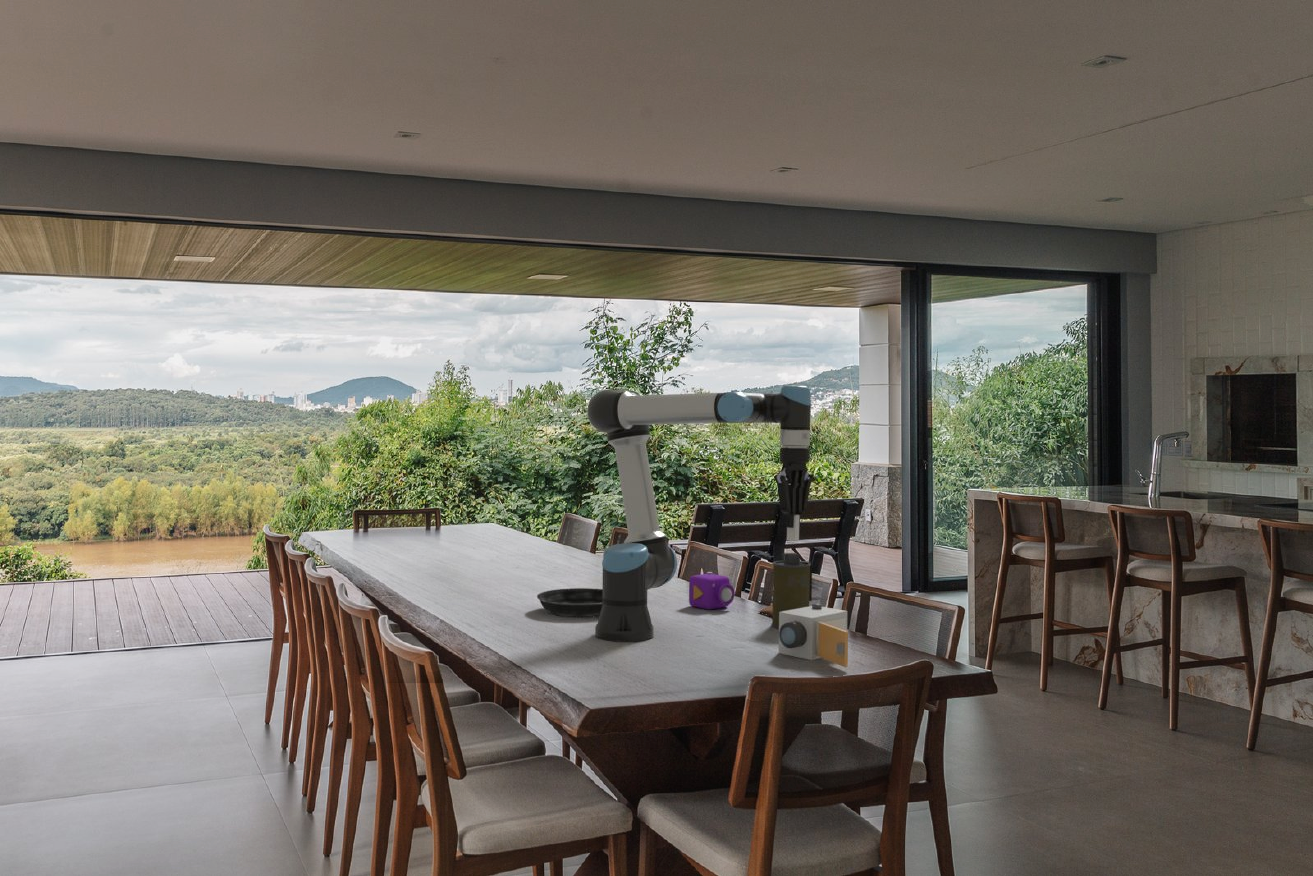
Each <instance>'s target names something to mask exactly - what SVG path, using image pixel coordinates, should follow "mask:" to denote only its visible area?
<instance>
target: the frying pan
mask: <svg viewBox="0 0 1313 876" xmlns="http://www.w3.org/2000/svg"><path fill="white" fill-rule="evenodd" d="M602 592H603V588H602V589H601V588H589V587H587V588H586V587H585V588H582V587H581V588H579V587H577V588H573V587H570V588H560V589H558V588H557V589H553V590H546V591H542V592H540V593H538V594H537V596H536V597H537V600H539V602H540V604H541V606H542V607H543V608H544V609H545V611H547V612H548V613H550V614H552V615H555V616H558V615H559V617H564V616H566V618H593V616H595V617H599V616H600V612H601V609H602Z"/></svg>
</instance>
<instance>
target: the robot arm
mask: <svg viewBox="0 0 1313 876" xmlns="http://www.w3.org/2000/svg"><path fill="white" fill-rule="evenodd" d="M779 392H780V393H763V392H762V393H760V392H743V391H729V392H705V393H703V392H702V393H680V394H678V393H675V394H673V393H672V394H645V395H644V394H642V393H640V392H638V391H635V390H631V389H625V390H623V389H621V390H620V389H603V390H600V391H597V393H595V394H594V395H593V396H592V397H591V398H590V400H589V402H588V406H587V408H586V409H587V410H586V411H587V413H586V414H587V418H588V421H589V422H590V424H591V425H592V427H593V428H594V429H595V430H597V431H599V432H602V433H605V434H606V437H607V442H608V443H607V444H609V445H611V446H612V447H613V448H614V452H615V458H616V459H615V460H616V464H617V465H616V466H617V469H618V470H617V471H618V477H619V483H620V489H621V496H622V502H623V509H624V514H625V521H626V527H627V534H628V535H627V536H626V539H624V541H623V542H622V543H617V544H616V543H615V544H612V545H610V546H608V547H606V548H605V550H604V551H603V555H602V556H603V557H602V562H601V566H602V589H603V592H602V609H601V612H600V616H598V620H597V624H596V625H595V627H594V634H595V637H596V636H597V637H599V638H598V639H600V638H602V639H601V640H604V639H605V641H610V640H611V642H639V641H646V640H650V639H652V638H654V628H655V627H654V625H653V624H652V618H651V615H650V612H649V607H648V591H649V590H651V589H655V588H661V587H662V586H664V585H665V584H668V583H669V582H670V581H671V580H672V579H673V578H674V576H675V574H676V572H677V569H678V558H677V554H676V552H675V550H674V549H673V548H672V547H671V546H670V545H669V544H668V539H667V535H666V534H665V533H664V532H663V531H661V529H660V524H659V517H658V511H657V506H656V504H657V503H656V499H655V493H654V485H653V480H652V475H651V468H650V462H649V455H648V450H647V441H648V439H650V437H651V432H650V426H651V425H653V426H654V425H689V424H693V425H694V424H695V425H697V424H742V423H743V424H752V423H753V424H754V423H755V424H756V423H757V424H758V423H759V424H763V423H765V424H768V423H769V424H771V423H772V424H780V427H779V445H780V446H781V447H780V449H779V462H780V463H782V464H781V469H780V472H779V474H775V475H774V480H775V482H776V486H777V495H778V502H779V509H780V512H781V513H782V514H783V515H786V516H785V517H786V518H785V519H786V520H785V522H786V523H785V526H786V541H791V542H799V540H800V527H801V516H802V515H804V514H805V512H806V511H807V507H808V501H809V496H810V489H811V483H812V482H813V479H814V474H813V473H809V472H808V467H807V464H808V463H810V460H811V459H810V455H811V454H810V453H811V450H810V448H808V447H809V446H810V444H811V443H810V442H811V439H810V438H811V434H810V433H811V413H812V412H811V411H812V400H811V399H812V398H811V397H812V396H811V394H812V393H811V388H810V387H808V386H806V385H782V387H781V389H780V391H779ZM597 637H596V638H597Z"/></svg>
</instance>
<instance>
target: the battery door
mask: <svg viewBox="0 0 1313 876" xmlns="http://www.w3.org/2000/svg"><path fill="white" fill-rule="evenodd" d="M848 650H849V631H848V630H847V631H845V630H842V629H839V628H836V627H834V626H831V625H828V624H825V623H822V622H819V621H818V622H816V656H819V657H821V658H820V659H824V660H826V661H829V662H831V663H833V664H836V665H839V666H841V667H843V668H848V667H849V666H848V662H849V661H848V657H849V651H848Z"/></svg>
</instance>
